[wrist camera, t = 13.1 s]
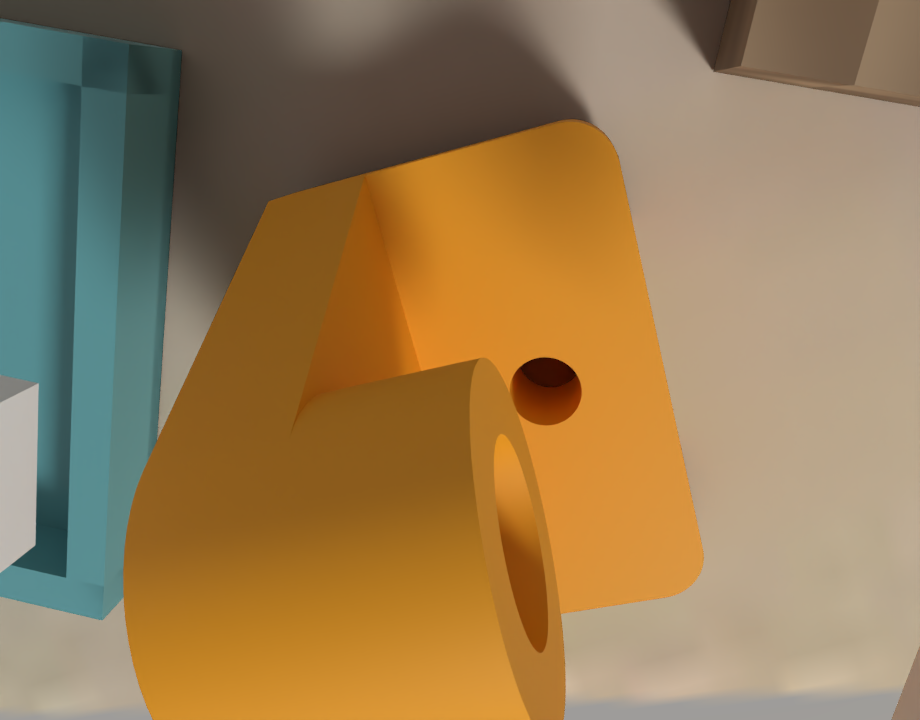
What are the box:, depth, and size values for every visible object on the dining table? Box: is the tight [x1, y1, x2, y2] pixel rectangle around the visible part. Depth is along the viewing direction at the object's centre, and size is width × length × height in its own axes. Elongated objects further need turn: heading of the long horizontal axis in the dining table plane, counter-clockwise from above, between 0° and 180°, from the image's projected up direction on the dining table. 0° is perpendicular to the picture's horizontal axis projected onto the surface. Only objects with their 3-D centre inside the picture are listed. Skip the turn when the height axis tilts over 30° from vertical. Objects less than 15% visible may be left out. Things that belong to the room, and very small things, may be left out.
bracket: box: [123, 119, 704, 720], centre depth 16 cm, size 11×7×12 cm, turn 16°
